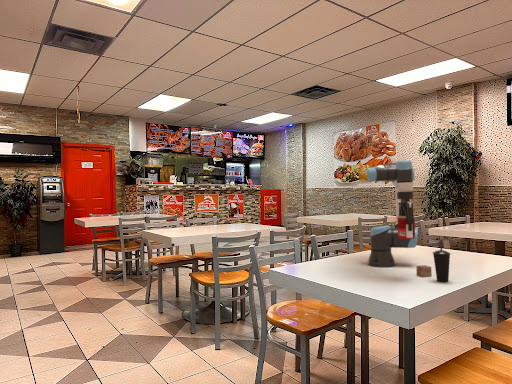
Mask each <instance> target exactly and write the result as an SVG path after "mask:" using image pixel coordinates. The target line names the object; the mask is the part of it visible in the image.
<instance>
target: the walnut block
mask: <svg viewBox="0 0 512 384" xmlns="http://www.w3.org/2000/svg"><path fill="white" fill-rule="evenodd" d="M432 273H433V272H432V266H430V265H427V264H423V265H422V264H421V265H416V276H417V275H418V276H417V277H421V278H431V277H432Z"/></svg>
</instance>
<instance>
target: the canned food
mask: <svg viewBox="0 0 512 384" xmlns="http://www.w3.org/2000/svg"><path fill="white" fill-rule="evenodd" d="M397 218H398V237H399V238H401V239H414V238H415V228H416V223H415V222H416V218H415V216H414V223H413V224H412V229H413V238H407V234H406V223H407V221H406V216H398V217H396V219H397Z"/></svg>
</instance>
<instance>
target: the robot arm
mask: <svg viewBox="0 0 512 384" xmlns="http://www.w3.org/2000/svg"><path fill="white" fill-rule="evenodd" d="M366 175H367V177H366V179H367V181H368V182H384V183H385V182H386V183H387V182H388V183H389V182H390V183H391V182H392V186H394V188H395V189H394V190H395V193H394V195H395V212H396V217H395V218H396V222H395V224H394V225H393V227H391V226H390V225H380V226H375V227H372V228H371V229H370V235H369V236H370V254H369V257H368V262H367V263H368V265H369V266H371V265H372V266H371V267H379V268H390V267H394V266H395V265H396V262H395V258H394V256H393V254H392V249H393V248H397V249H398V248H399V249H414V248H416V247H417V244H418V237H419V236H418V234H419V228H418V227H415V238H414V239H401V238H399V237H398V218H397V217H398V216H406V221H407V223H406V234H407V238H413V229H412V224H413V223H414V217H415V215H414V202H412V200H413V199H414V192H413V191H414V182H413V181H415V179H416V176H415V170H414V166H413V162H412V160H410V159H409V160H408V159H406V160H398V161H396V162H395V163H394V162H393V163H382V164H379V165H376V166H374V167H368V168H367V170H366Z"/></svg>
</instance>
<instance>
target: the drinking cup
mask: <svg viewBox="0 0 512 384" xmlns="http://www.w3.org/2000/svg"><path fill="white" fill-rule="evenodd" d="M439 245H440V246H439V247H440V249H437V250H435V251H432V256H433V261H434V262H433V263H434V268H435V275H436V281H437V282H438V283H449V276H450V275H449V274H450V259H451V252H449V251H447V250H444V249H443V240H442V239H440V240H439Z"/></svg>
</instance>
